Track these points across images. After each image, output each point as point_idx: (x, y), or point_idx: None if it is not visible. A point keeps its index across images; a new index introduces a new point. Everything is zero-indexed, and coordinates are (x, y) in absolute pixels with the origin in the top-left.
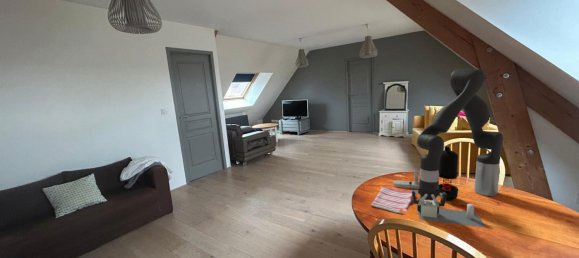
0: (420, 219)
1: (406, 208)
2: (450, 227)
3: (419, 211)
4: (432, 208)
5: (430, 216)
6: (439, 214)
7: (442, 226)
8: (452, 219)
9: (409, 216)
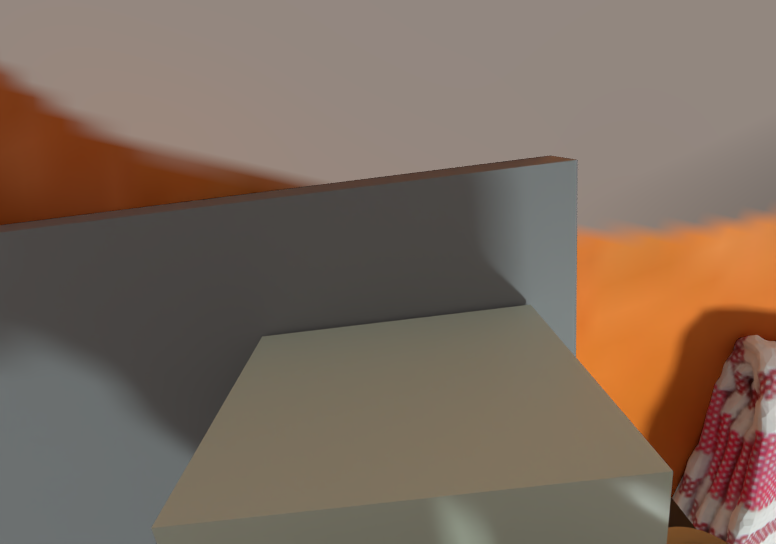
0: (563, 169)
1: (765, 471)
2: (65, 185)
3: None
4: (312, 467)
5: (370, 328)
6: None
7: (185, 170)
8: (11, 375)
9: (689, 307)
